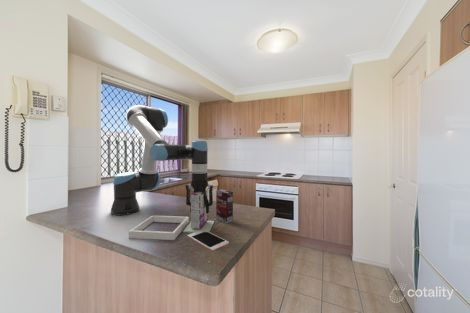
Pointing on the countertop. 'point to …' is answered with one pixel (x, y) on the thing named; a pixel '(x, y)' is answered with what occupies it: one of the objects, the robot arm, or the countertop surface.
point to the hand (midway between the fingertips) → (199, 219)
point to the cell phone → (208, 240)
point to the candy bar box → (197, 210)
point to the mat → (205, 228)
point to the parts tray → (140, 234)
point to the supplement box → (224, 206)
